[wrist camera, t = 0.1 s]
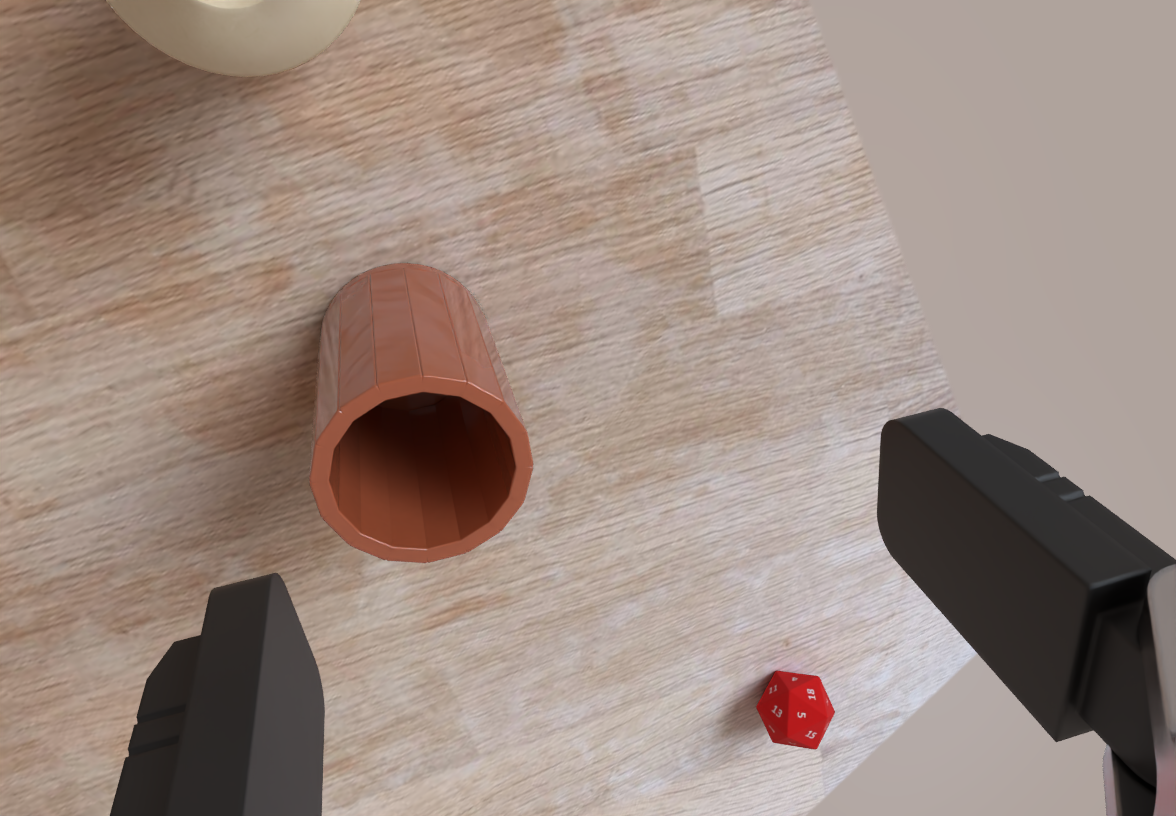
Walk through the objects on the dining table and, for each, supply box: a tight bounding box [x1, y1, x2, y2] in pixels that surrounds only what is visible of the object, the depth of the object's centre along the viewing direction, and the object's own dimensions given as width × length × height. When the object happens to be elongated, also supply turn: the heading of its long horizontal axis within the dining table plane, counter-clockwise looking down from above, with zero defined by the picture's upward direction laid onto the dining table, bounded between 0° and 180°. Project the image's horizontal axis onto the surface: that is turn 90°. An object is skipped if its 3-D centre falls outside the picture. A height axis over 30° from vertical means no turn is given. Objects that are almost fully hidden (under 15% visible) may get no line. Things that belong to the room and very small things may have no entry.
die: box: [756, 671, 835, 749], centre depth 43 cm, size 4×3×4 cm
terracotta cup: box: [309, 263, 533, 563], centre depth 27 cm, size 6×6×9 cm
